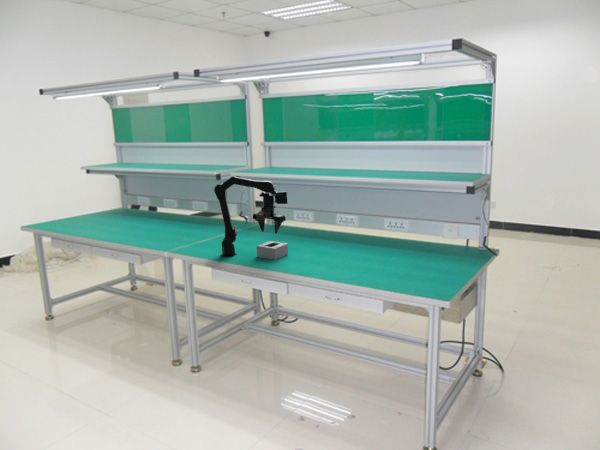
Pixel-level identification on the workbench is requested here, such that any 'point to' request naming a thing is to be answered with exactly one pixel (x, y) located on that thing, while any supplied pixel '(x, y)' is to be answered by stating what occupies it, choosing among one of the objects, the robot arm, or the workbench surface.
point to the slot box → (272, 250)
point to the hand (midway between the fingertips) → (269, 232)
